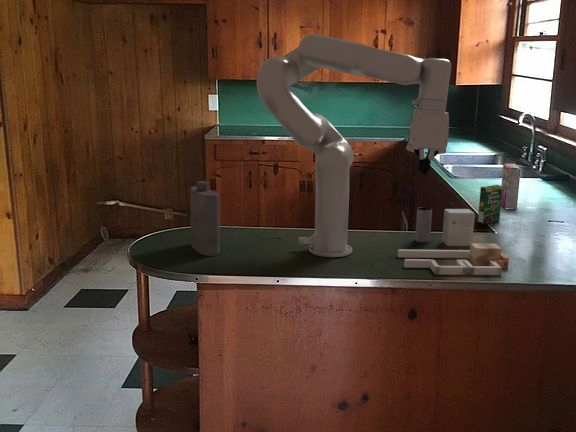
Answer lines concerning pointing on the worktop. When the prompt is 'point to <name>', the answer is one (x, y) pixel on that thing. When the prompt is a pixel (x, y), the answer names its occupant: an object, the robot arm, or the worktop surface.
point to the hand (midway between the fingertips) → (423, 173)
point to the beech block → (484, 253)
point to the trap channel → (460, 266)
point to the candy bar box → (510, 185)
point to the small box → (458, 227)
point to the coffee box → (490, 204)
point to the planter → (423, 224)
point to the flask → (204, 219)
